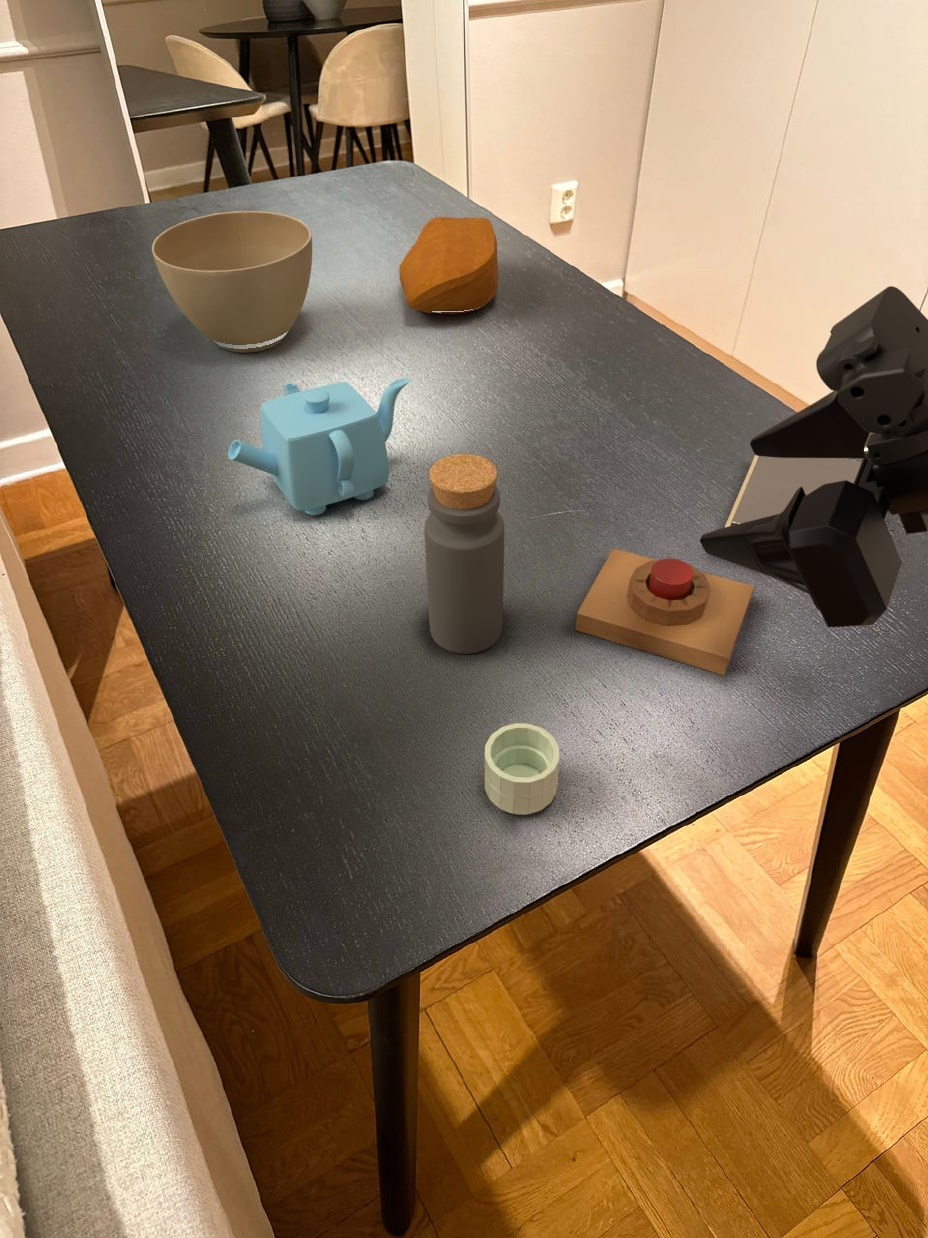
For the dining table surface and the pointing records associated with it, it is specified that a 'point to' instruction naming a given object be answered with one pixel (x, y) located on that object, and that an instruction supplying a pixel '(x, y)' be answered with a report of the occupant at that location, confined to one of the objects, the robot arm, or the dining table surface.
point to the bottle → (464, 554)
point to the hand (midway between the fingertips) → (729, 493)
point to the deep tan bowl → (237, 274)
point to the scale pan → (788, 483)
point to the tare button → (671, 579)
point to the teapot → (323, 444)
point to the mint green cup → (521, 768)
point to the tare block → (665, 613)
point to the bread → (451, 266)
